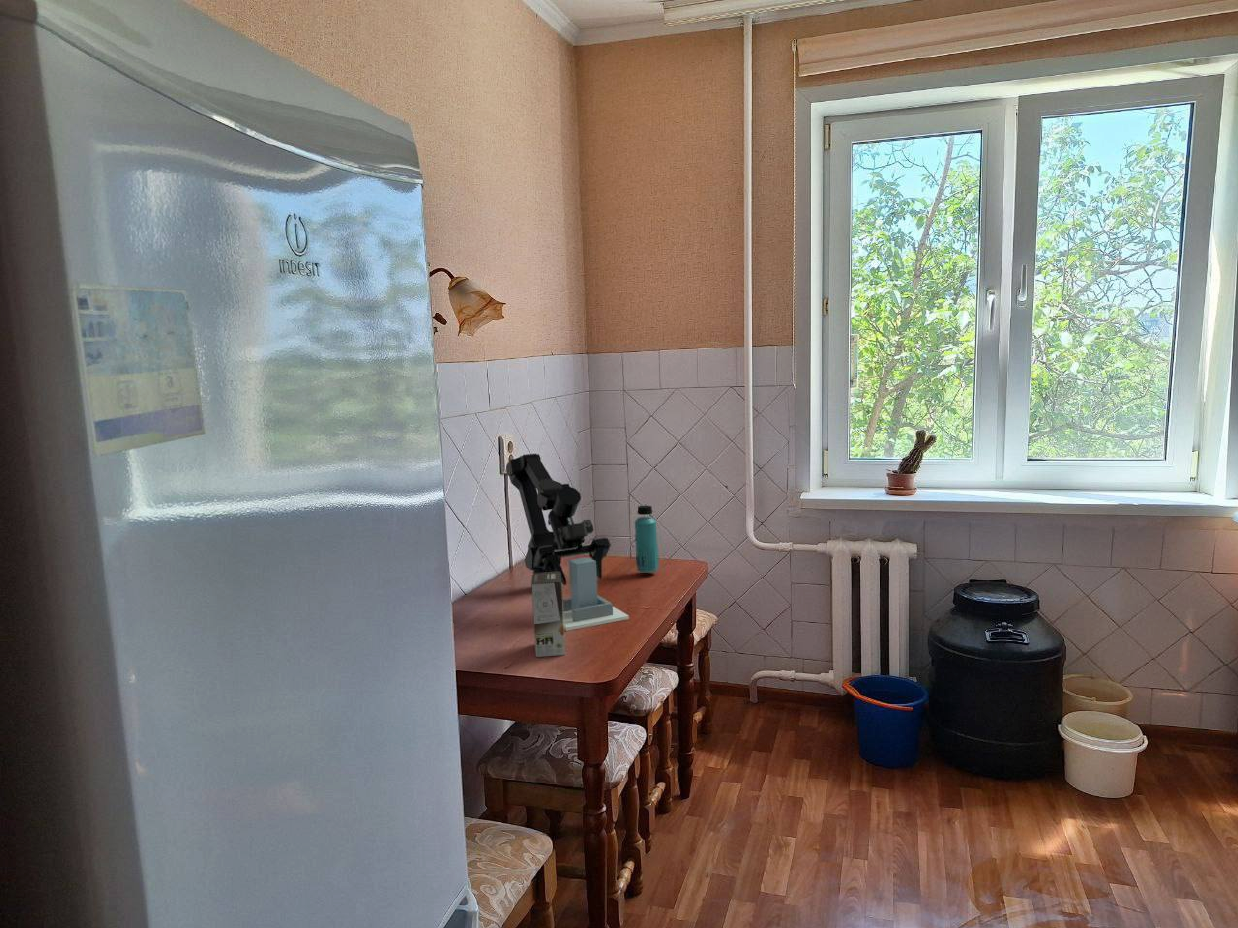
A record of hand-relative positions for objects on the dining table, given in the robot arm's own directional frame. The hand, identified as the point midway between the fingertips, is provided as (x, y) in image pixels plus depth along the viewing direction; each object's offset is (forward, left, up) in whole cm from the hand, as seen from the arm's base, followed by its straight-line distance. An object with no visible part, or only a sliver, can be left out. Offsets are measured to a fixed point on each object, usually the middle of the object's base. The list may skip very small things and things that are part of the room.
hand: (583, 581), depth 200 cm
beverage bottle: (-33, +22, -9) cm, 41 cm away
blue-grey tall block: (0, 0, -8) cm, 8 cm away
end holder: (0, 0, -9) cm, 9 cm away
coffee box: (+21, -10, -9) cm, 25 cm away
